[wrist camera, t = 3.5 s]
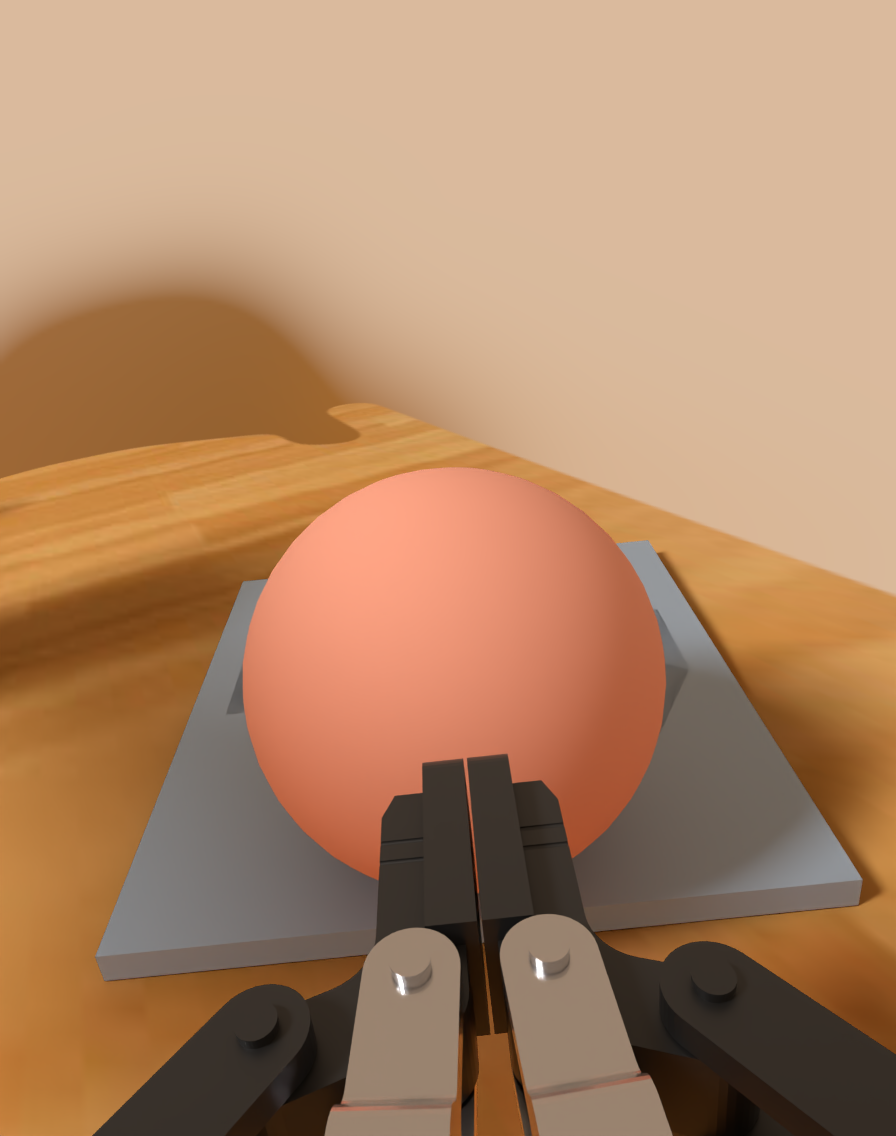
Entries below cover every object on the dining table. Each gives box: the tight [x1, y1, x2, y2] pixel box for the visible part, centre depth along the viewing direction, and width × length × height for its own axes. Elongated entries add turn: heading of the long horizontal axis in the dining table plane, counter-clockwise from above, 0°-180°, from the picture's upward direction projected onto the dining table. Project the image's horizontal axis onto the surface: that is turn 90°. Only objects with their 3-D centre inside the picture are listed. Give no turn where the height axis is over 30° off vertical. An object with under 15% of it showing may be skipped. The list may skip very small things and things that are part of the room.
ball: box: [243, 468, 666, 893], centre depth 25 cm, size 12×12×12 cm
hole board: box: [95, 540, 863, 981], centre depth 35 cm, size 24×22×1 cm
